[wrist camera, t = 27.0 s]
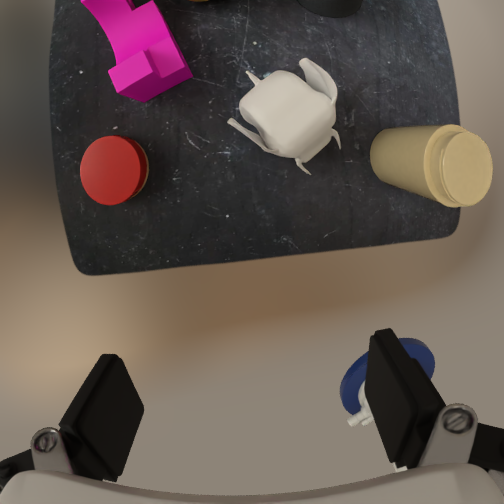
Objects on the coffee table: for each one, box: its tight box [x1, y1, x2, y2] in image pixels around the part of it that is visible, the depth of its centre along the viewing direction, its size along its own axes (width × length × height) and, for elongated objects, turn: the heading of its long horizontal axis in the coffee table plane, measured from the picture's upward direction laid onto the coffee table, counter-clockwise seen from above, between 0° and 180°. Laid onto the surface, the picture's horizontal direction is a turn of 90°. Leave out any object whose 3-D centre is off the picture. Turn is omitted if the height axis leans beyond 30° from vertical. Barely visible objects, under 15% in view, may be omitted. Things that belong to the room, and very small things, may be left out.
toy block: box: [81, 0, 193, 102], centre depth 23 cm, size 15×6×8 cm, turn 24°
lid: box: [80, 135, 147, 205], centre depth 30 cm, size 8×8×2 cm
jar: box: [370, 124, 493, 207], centre depth 25 cm, size 7×7×14 cm
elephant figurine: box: [227, 58, 341, 175], centre depth 26 cm, size 10×12×9 cm
